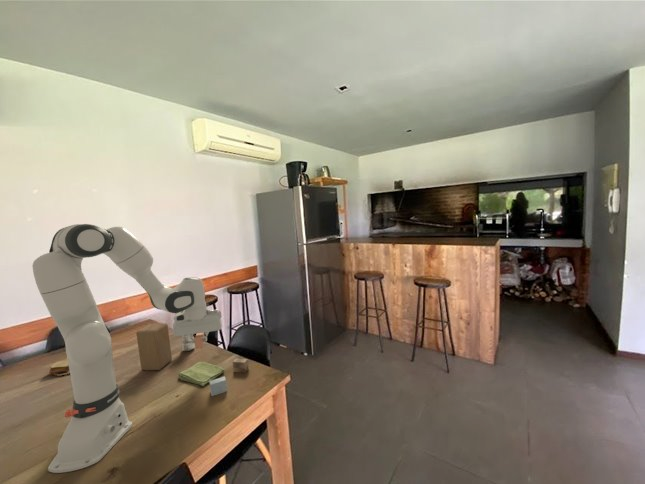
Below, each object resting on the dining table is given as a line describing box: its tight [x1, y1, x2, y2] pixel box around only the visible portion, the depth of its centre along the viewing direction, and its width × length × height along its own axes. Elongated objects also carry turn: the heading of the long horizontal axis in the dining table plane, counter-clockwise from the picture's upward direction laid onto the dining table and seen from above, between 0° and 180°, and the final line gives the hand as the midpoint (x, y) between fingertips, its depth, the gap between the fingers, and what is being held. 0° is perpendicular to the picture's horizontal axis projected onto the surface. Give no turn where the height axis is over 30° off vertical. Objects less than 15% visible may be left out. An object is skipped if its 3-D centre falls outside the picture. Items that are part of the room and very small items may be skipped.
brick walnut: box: [232, 358, 249, 373], centre depth 128 cm, size 6×3×5 cm, turn 78°
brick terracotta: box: [194, 332, 206, 350], centre depth 125 cm, size 6×3×5 cm, turn 13°
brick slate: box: [208, 376, 228, 397], centre depth 113 cm, size 6×3×5 cm, turn 119°
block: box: [136, 322, 173, 371], centre depth 137 cm, size 10×10×20 cm
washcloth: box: [178, 361, 225, 387], centre depth 126 cm, size 13×18×3 cm
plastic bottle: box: [181, 335, 195, 352], centre depth 151 cm, size 6×7×20 cm
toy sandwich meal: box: [48, 359, 70, 377], centre depth 139 cm, size 12×14×5 cm
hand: (199, 341), depth 125 cm, fingers closed on brick terracotta, 3 cm apart
